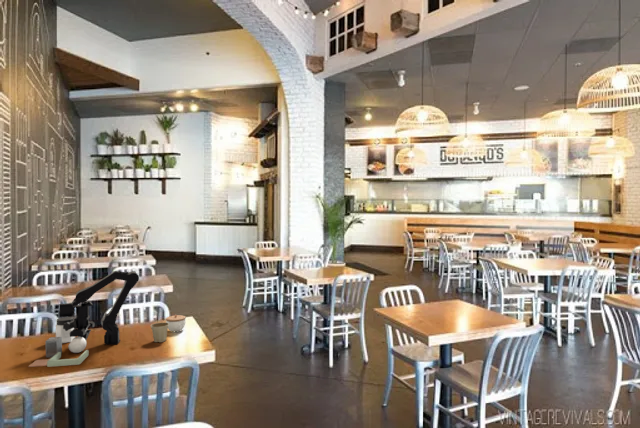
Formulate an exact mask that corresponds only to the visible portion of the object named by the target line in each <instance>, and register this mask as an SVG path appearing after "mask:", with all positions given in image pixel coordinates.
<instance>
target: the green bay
mask: <svg viewBox="0 0 640 428" xmlns="http://www.w3.org/2000/svg"><path fill="white" fill-rule="evenodd" d="M89 353H90V352H89V349H86V350H84V352H83V353H82V354H80V355H79V356H78V357H76V358H63V359H61V358H62V353H61V352H58V353H57V354H55V355H54V356H53V357H50V358H48V359H49V360H48V361H47V367H49V368H50V367H52V368H53V367H62V366H76V365H77V366H78V365H81V364H82V363H83V362H84V361H85V359H86V358H87V357H88V356H89V355H90V354H89Z"/></svg>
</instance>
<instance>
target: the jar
mask: <svg viewBox="0 0 640 428" xmlns="http://www.w3.org/2000/svg"><path fill="white" fill-rule="evenodd" d="M74 319H75V317H73V316H70V317H61V318H59V317H58V318H57V319H56V325H55V337H62V344H66V343H71V342H72V339H73V338H76V336H75V337H70V332H71V331H72V330H73V329H74V328H72V329H69V330H68V331H65V329H63V325H64V323H67V322H71V321H74Z"/></svg>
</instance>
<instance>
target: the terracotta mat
mask: <svg viewBox="0 0 640 428" xmlns="http://www.w3.org/2000/svg"><path fill="white" fill-rule="evenodd" d="M49 359H50V358H48V359H47V358H45V359H36V360H34V362H32V363H30V364H29V365H28V368H31V367H43V366H44V367H46V366H47V361H48V360H49Z"/></svg>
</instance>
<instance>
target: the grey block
mask: <svg viewBox="0 0 640 428" xmlns="http://www.w3.org/2000/svg"><path fill="white" fill-rule="evenodd" d="M44 342H45V343H44V344H45V359H47V358H48V359H49V358H52V357H53V356H54V355H55V354H57V353H58V352H61V354H62V353H63V343H62V337H56V336H52V337H49V338H47V339H46V340H45V341H44Z"/></svg>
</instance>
